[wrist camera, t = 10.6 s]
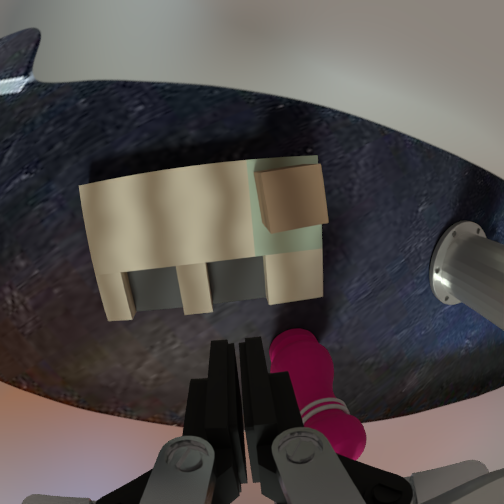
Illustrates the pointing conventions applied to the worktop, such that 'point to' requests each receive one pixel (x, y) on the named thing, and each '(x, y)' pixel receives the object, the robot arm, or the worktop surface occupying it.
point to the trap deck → (195, 240)
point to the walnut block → (291, 197)
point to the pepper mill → (317, 390)
